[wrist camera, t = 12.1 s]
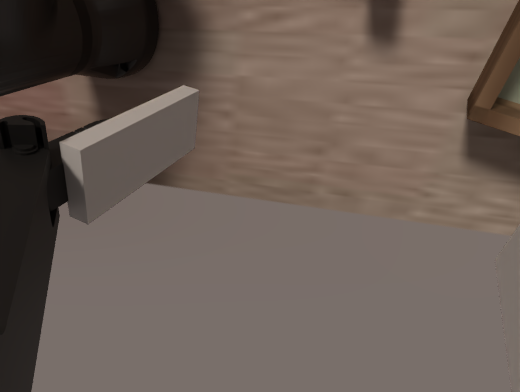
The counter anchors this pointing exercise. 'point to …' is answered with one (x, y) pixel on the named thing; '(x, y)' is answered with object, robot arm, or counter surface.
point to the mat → (512, 85)
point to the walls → (498, 82)
